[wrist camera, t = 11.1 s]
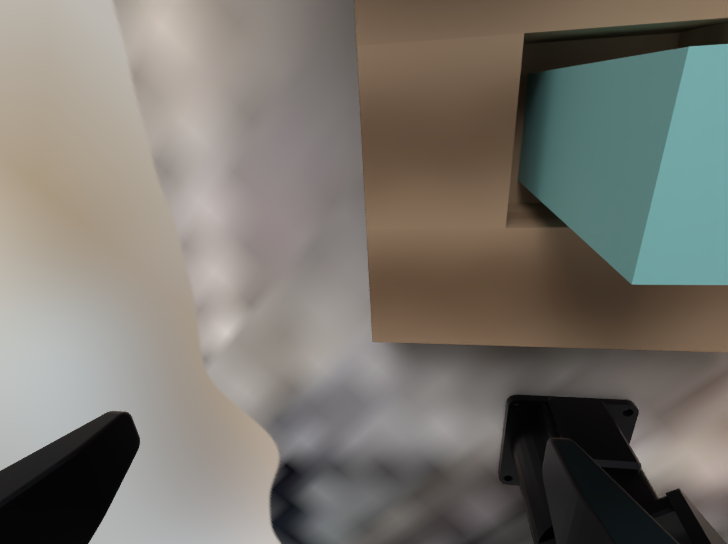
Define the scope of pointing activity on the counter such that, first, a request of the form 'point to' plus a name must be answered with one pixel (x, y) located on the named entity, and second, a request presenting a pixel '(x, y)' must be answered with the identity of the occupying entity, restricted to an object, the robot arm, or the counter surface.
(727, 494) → the counter surface
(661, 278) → the teal peg
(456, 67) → the walnut socket
